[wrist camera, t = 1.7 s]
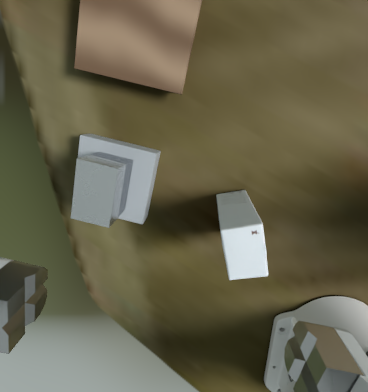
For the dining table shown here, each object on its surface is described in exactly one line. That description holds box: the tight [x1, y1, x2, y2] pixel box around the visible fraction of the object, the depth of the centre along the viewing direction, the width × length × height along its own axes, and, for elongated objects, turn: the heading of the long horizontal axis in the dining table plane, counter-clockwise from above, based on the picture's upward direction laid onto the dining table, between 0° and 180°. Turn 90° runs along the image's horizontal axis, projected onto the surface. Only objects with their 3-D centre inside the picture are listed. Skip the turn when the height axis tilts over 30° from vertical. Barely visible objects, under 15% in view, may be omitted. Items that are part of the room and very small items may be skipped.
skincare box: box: [216, 190, 268, 280], centre depth 31 cm, size 6×4×12 cm
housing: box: [71, 152, 133, 228], centre depth 30 cm, size 7×4×6 cm, turn 167°
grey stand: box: [78, 134, 161, 224], centre depth 35 cm, size 10×10×3 cm
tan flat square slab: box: [74, 0, 202, 95], centre depth 29 cm, size 13×13×3 cm
